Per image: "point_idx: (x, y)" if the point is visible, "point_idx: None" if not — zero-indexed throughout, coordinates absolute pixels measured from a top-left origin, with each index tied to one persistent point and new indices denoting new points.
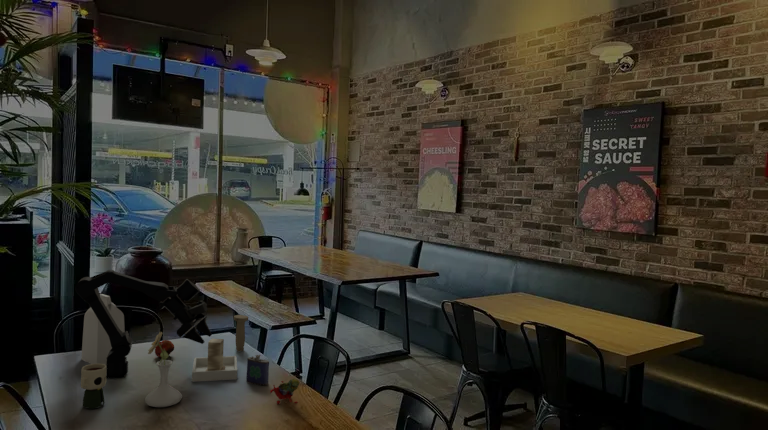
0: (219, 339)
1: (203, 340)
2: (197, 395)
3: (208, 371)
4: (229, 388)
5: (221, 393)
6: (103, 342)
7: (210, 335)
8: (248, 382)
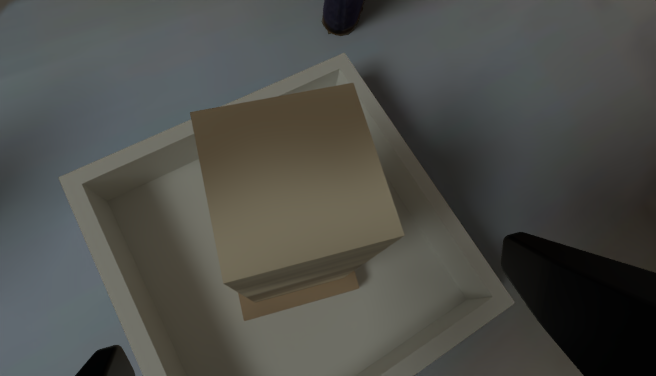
0: (226, 155)
1: (536, 243)
2: (603, 170)
3: (444, 205)
4: (459, 71)
5: (525, 79)
6: None
7: (126, 363)
8: (358, 18)
